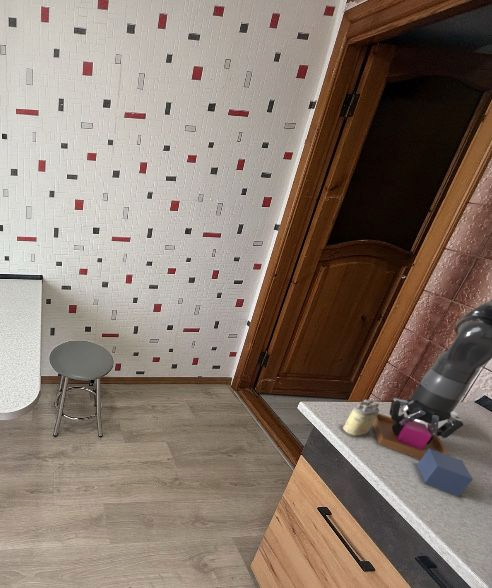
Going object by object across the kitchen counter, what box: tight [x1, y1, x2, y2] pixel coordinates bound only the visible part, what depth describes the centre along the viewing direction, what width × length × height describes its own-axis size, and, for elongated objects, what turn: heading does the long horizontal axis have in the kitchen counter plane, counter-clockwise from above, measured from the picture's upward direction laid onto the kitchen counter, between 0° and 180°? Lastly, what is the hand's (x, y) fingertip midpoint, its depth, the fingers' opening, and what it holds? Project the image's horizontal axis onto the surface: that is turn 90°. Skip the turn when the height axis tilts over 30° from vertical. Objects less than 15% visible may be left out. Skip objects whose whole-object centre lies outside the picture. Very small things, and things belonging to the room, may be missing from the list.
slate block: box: [416, 448, 474, 497], centre depth 79 cm, size 6×6×6 cm
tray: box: [372, 412, 449, 461], centre depth 90 cm, size 14×12×2 cm
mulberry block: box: [396, 421, 432, 450], centre depth 90 cm, size 5×5×5 cm
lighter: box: [342, 399, 380, 437], centre depth 91 cm, size 7×4×10 cm, turn 105°
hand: (408, 437), depth 90 cm, fingers closed on mulberry block, 5 cm apart
